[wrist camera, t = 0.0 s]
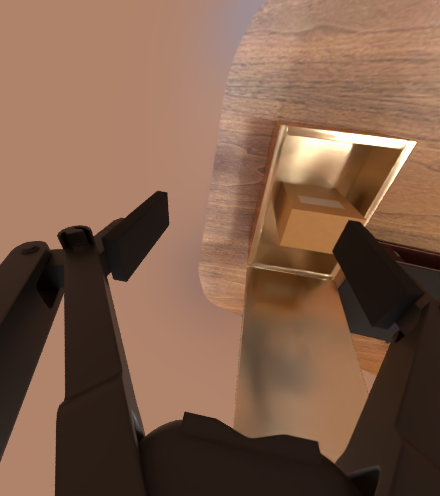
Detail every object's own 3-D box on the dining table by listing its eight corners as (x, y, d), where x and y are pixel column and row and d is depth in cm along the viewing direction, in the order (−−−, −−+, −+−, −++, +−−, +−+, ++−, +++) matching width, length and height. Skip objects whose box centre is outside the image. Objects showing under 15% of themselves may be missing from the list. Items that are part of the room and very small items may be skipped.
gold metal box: (275, 120, 26) (280, 124, 21) (382, 133, 26) (417, 141, 20) (248, 242, 38) (247, 265, 32) (321, 254, 37) (333, 280, 32)
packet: (282, 181, 30) (291, 208, 22) (336, 189, 29) (367, 219, 21) (273, 211, 33) (279, 245, 25) (323, 219, 32) (345, 256, 24)
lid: (231, 447, 17) (225, 446, 22) (395, 485, 16) (356, 476, 21) (247, 266, 32) (242, 286, 36) (335, 281, 31) (319, 299, 35)
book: (347, 232, 34) (364, 255, 29) (495, 264, 33) (541, 294, 28) (305, 297, 44) (312, 324, 39) (418, 323, 43) (440, 353, 38)
